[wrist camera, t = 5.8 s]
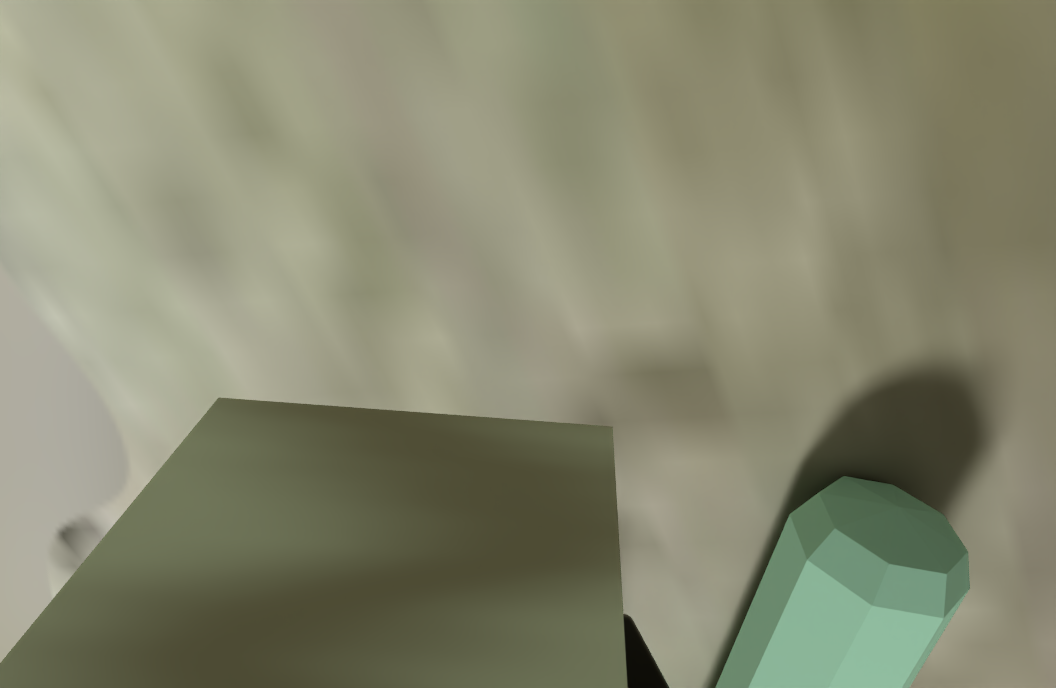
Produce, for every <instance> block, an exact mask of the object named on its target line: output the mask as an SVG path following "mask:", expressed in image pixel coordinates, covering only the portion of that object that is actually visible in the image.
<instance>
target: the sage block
mask: <svg viewBox="0 0 1056 688" xmlns="http://www.w3.org/2000/svg"><path fill="white" fill-rule="evenodd" d="M0 688H628V687H627V670H626V653H625V636H624V618H623V601H622V584H621V566H620V549H619V532H618V514H617V497H616V480H615V462H614V445H613V428H612V427H611V426H597V425H584V424H570V423H557V422H543V421H529V420H516V419H502V418H488V417H475V416H461V415H447V414H434V413H420V412H407V411H393V410H379V409H366V408H352V407H338V406H325V405H311V404H297V403H284V402H270V401H257V400H243V399H229V398H218V399H217V400H216V402H215V403H214V404H213V405H212V406H211V408H210V409H209V410H208V411H207V413H206V414H205V415H204V416H203V417H202V419H201V420H200V421H199V422H198V423H197V425H196V426H195V427H194V428H193V430H192V431H191V432H190V433H189V434H188V436H187V437H186V438H185V439H184V440H183V442H182V443H181V444H180V445H179V447H178V448H177V449H176V450H175V451H174V453H173V454H172V455H171V456H170V457H169V459H168V460H167V461H166V462H165V464H164V465H163V466H162V467H161V468H160V470H159V471H158V472H157V473H156V475H155V476H154V477H153V478H152V479H151V481H150V482H149V483H148V484H147V485H146V487H145V488H144V489H143V490H142V492H141V493H140V494H139V495H138V496H137V498H136V499H135V500H134V501H133V502H132V504H131V505H130V506H129V507H128V509H127V510H126V511H125V512H124V513H123V515H122V516H121V517H120V518H119V519H118V521H117V522H116V523H115V524H114V526H113V527H112V528H111V529H110V530H109V532H108V533H107V534H106V535H105V537H104V538H103V539H102V540H101V541H100V543H99V544H98V545H97V546H96V547H95V549H94V550H93V551H92V552H91V554H90V555H89V556H88V557H87V558H86V560H85V561H84V562H83V563H82V564H81V566H80V567H79V568H78V569H77V571H76V572H75V573H74V574H73V575H72V577H71V578H70V579H69V580H68V582H67V583H66V584H65V585H64V586H63V588H62V589H61V590H60V591H59V592H58V594H57V595H56V596H55V597H54V599H53V600H52V601H51V602H50V604H49V605H48V606H47V607H46V608H45V610H44V611H43V612H42V613H41V614H40V616H39V617H38V618H37V619H36V620H35V622H34V623H33V624H32V625H31V627H30V628H29V629H28V630H27V631H26V633H25V634H24V635H23V636H22V637H21V639H20V640H19V641H18V642H17V644H16V645H15V646H14V647H13V648H12V650H11V651H10V652H9V653H8V654H7V656H6V657H5V658H4V659H3V661H2V662H1V663H0Z"/></svg>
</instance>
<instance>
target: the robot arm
mask: <svg viewBox="0 0 1056 688" xmlns="http://www.w3.org/2000/svg"><path fill="white" fill-rule="evenodd" d="M623 618H624V636H625V653H626V670H627V687H628V688H669V686H668V684H667V682H666V681H665V679H664V677H663V675H662V673H661V671H660V669H659V668H658V666H657V664H656V662H655V660H654V658H653V656H652V655H651V653H650V651H649V649H648V647H647V645H646V643H645V642H644V640H643V638H642V636H641V634H640V632H639V631H638V629H637V627H636V625H635V623H634V621H633V620H632V618H631V617H630V616H628V615H626V614H623Z"/></svg>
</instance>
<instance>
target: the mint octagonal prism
mask: <svg viewBox="0 0 1056 688" xmlns="http://www.w3.org/2000/svg"><path fill="white" fill-rule="evenodd" d="M969 589H970V582H969V561H968V551H967V549H966V548H965V546H964V545H963V543H962V542H961V540H960V539H959V537H958V536H957V534H956V533H955V531H954V530H953V528H952V527H951V525H950V524H949V522H948V521H947V519H946V518H945V516H944V515H943V514H942V513H940V512H938V511H937V510H935V509H933V508H932V507H930V506H928V505H926V504H925V503H923V502H921V501H920V500H918V499H916V498H915V497H913V496H911V495H910V494H908V493H906V492H904V491H903V490H901V489H899V488H898V487H896V486H894V485H892V484H886V483H881V482H875V481H869V480H864V479H858V478H852V477H847V476H843V477H841V478H840V479H838V480H837V481H835V482H834V483H832V484H831V485H829V486H828V487H826V488H825V489H823V490H822V491H820V492H819V493H817V494H816V495H815V496H813V497H812V498H811V499H809V500H808V501H807V502H805V503H804V504H803V505H801V506H800V507H799V508H797V509H796V510H795V511H793V512H792V513H791V514H790V515H789V517H788V519H787V522H786V524H785V526H784V529H783V531H782V533H781V536H780V538H779V540H778V543H777V545H776V547H775V550H774V552H773V554H772V557H771V559H770V561H769V564H768V566H767V568H766V571H765V573H764V575H763V578H762V580H761V582H760V585H759V587H758V589H757V592H756V594H755V596H754V599H753V601H752V603H751V606H750V608H749V610H748V613H747V615H746V617H745V620H744V622H743V625H742V627H741V629H740V632H739V634H738V636H737V639H736V641H735V643H734V646H733V648H732V650H731V653H730V655H729V657H728V660H727V662H726V664H725V667H724V669H723V671H722V674H721V676H720V678H719V681H718V683H717V685H716V688H909V687H910V685H911V684H912V682H913V680H914V679H915V677H916V676H917V674H918V672H919V671H920V669H921V667H922V666H923V664H924V662H925V661H926V659H927V658H928V656H929V654H930V653H931V651H932V649H933V648H934V646H935V644H936V643H937V641H938V640H939V638H940V636H941V635H942V633H943V631H944V630H945V628H946V626H947V625H948V623H949V622H950V620H951V618H952V617H953V615H954V613H955V612H956V610H957V608H958V607H959V605H960V604H961V602H962V600H963V599H964V597H965V595H966V594H967V592H968V590H969Z"/></svg>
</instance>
